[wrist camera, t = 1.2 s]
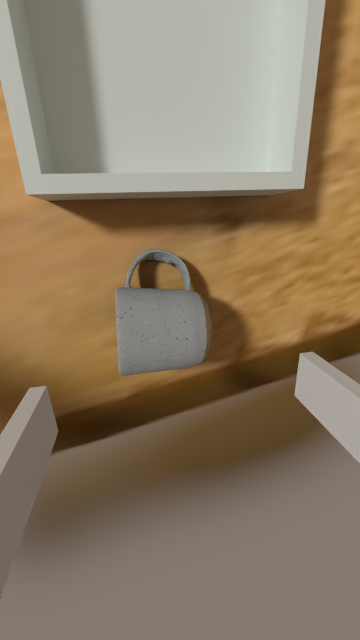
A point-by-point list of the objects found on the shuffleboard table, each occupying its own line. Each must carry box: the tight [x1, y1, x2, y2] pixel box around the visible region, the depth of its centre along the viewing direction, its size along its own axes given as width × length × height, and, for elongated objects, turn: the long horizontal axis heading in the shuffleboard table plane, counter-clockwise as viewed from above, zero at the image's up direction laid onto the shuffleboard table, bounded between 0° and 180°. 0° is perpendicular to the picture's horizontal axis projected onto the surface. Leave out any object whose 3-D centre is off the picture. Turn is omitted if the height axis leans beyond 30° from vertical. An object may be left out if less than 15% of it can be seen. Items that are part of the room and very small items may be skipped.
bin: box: [0, 0, 325, 201], centre depth 18 cm, size 20×17×5 cm
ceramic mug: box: [115, 249, 213, 376], centre depth 23 cm, size 11×8×8 cm
